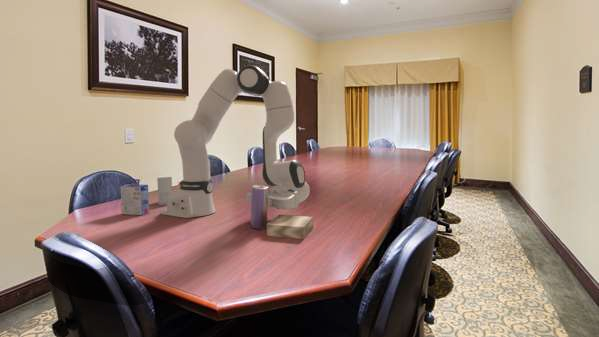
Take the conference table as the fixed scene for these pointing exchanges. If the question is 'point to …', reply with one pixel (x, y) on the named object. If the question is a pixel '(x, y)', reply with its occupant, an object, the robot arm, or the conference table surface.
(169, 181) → the small box
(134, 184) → the ink cartridge box
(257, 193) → the beverage can
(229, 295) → the conference table surface
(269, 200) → the robot arm
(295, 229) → the ash base block
